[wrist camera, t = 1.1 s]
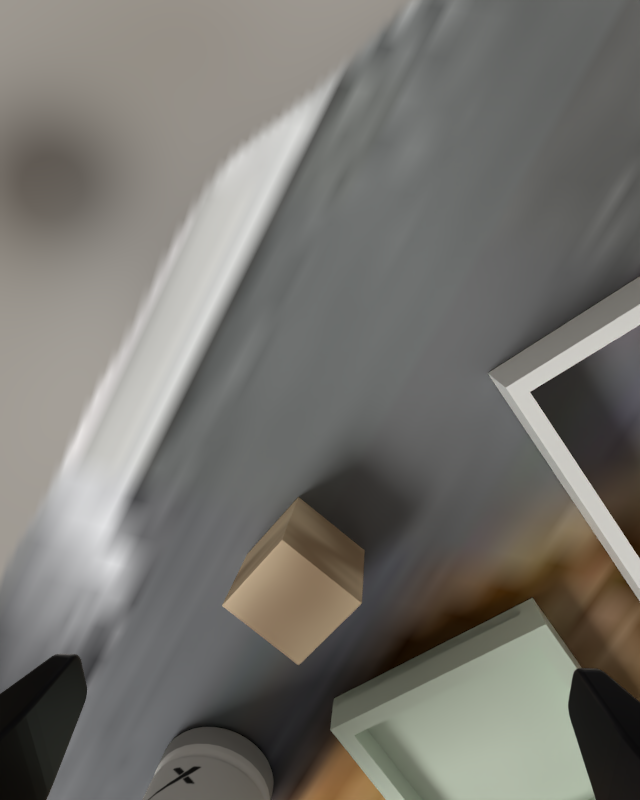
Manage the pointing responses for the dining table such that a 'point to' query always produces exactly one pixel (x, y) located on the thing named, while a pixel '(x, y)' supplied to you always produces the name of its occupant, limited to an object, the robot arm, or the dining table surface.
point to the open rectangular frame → (515, 384)
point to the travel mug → (211, 768)
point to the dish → (472, 718)
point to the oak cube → (298, 582)
